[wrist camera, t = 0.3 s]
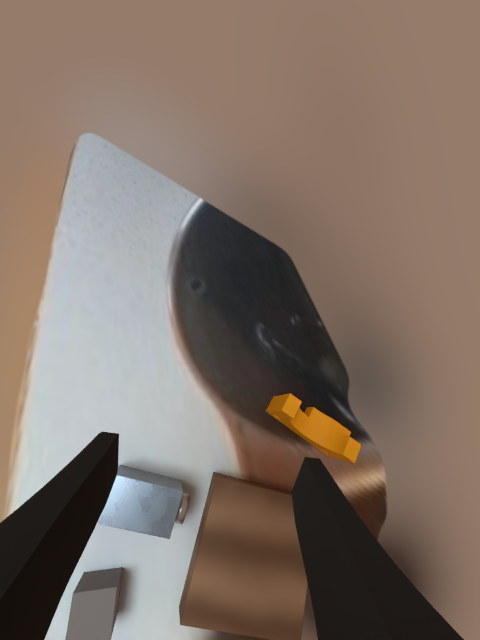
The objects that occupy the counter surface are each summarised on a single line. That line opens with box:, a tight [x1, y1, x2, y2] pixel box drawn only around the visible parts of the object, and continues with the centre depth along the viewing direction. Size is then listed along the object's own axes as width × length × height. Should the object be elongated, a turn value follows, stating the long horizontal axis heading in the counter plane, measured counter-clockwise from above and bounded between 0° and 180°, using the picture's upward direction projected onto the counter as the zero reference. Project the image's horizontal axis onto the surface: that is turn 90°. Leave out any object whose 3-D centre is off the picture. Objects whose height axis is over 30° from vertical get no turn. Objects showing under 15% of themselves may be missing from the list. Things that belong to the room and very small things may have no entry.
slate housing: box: [97, 465, 190, 539], centre depth 31 cm, size 4×9×6 cm, turn 75°
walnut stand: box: [179, 472, 308, 640], centre depth 33 cm, size 14×14×3 cm
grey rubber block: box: [66, 568, 122, 640], centre depth 28 cm, size 4×4×4 cm
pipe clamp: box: [266, 393, 361, 463], centre depth 39 cm, size 12×4×6 cm, turn 57°
